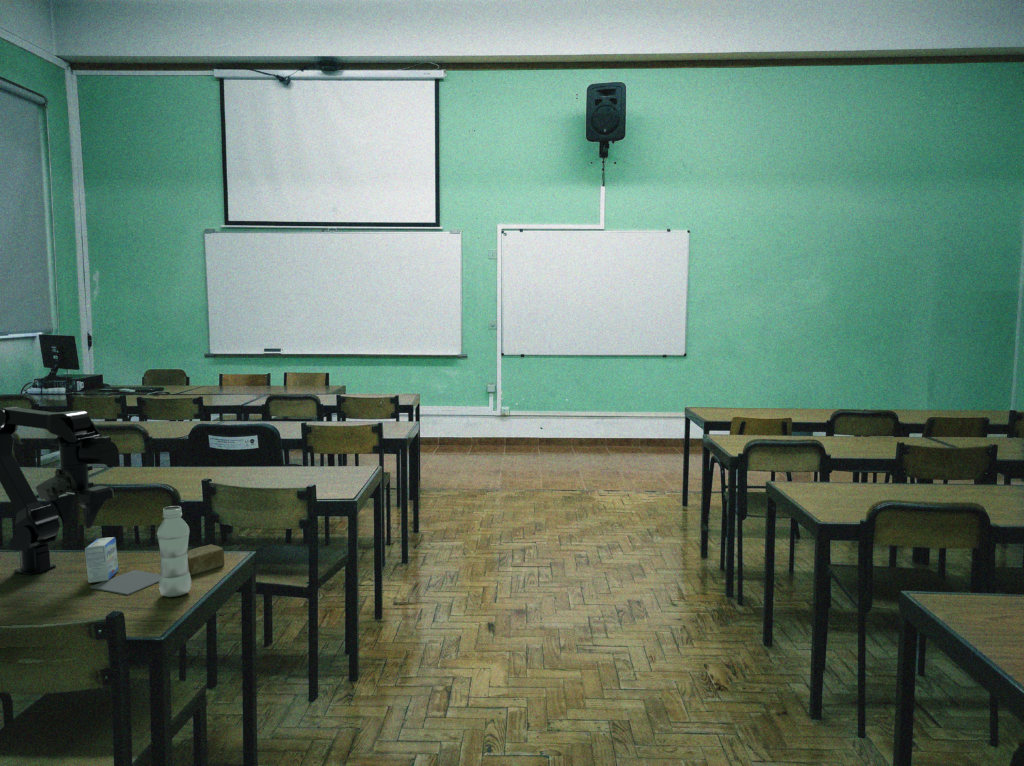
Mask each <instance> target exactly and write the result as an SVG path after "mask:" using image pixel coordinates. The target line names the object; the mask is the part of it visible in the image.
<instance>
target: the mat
mask: <svg viewBox="0 0 1024 766" xmlns="http://www.w3.org/2000/svg"><path fill="white" fill-rule="evenodd" d="M160 574H161V573H154V572H149V571H148V572H147V571H143V570H137V569H133V570H131V571H128V572H125V573H122V574H120V575H117V576H115V577H111V578H110V580H109V581H102V582H98V583H96V584H93V585H91V586H89V589H92V590H97V591H101V592H102V591H103V592H108V593H113V594H114V593H115V594H119V595H124V596H129V595H132V594H135V593H137V592H139V591H142V590H144V589H146V588H148V587H151V586H153V585H155V584H159V579H160V576H161V575H160Z"/></svg>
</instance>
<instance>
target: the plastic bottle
mask: <svg viewBox="0 0 1024 766" xmlns="http://www.w3.org/2000/svg"><path fill="white" fill-rule="evenodd" d="M182 516H183V512H182V507H181V506H179V505H172V506H165V507H164V508H162V518H164V519H163V520H162V522H161V524H160V525H159V527H158V529H157V531H156V532H157V533H156V534H157V537H156V538H157V541H158V546H159V547H158V548H159V550H160V551H159V553H160V573H159V574H160V575H161V576H160V579H159V582H158V588H159V593H160V594H161V595H162V596H163V597H165V598H166V597H167V598H172V597H179V596H183V595H185V594H187V593H189V591H190V589H191V587H192V577H191V576H190V573H189V567H188V559H187V556H188V554H187V552H188V551H189V550H188V549H189V539H190V526H189V525H188V524H187V523H186V521H185V520H184V519H183V518H182Z"/></svg>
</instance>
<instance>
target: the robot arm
mask: <svg viewBox="0 0 1024 766" xmlns="http://www.w3.org/2000/svg"><path fill="white" fill-rule="evenodd" d="M19 426H20V427H28V428H35V429H42V430H46V431H48V432H49V434H52V435H54V436H57V437H56V438H55V439H54V440H53V441H51V445H53V446H54V445H55V446H59V464H60V465H59V466H60V468H59V467H58V468H56V469H55V472H54V473H55V474H54V476H53V477H50V478H48V479H46V480H44V481H43V482H41V483H40V484H38V485H37V486H35V490H36V492H37V496H38V497H39V499H40V500H42V501H44V500H45V501H48V502H50V503H51V504H53V505H51V504H48V505H43V504H42V503H41V502H40V501H39V500H38V498H37V496H36V494H35V492H34V491H33V488H32V487H31V485H30V483H29V481H28V480H27V478H26V476H25V475H24V473H23V471H22V468H21V467H20V465H19V463H18V461H17V459H16V458H15V456H14V454H13V450H14V449H13V448H14V444H15V441H14V439H13V435H14V434H15V433H16V432H18V429H19ZM119 452H120V451H119V448H118V445H116V443H115V442H113V441H112V437H111V436H107V435H106V436H102V434H101V431H100V430H99V429H98V428H97V426H96V424H95V423H94V422H93V420H92V419H91V417H90V415H89V414H88V411H85V410H71V411H62V412H61V411H60V412H59V411H58V412H54V411H45V410H39V409H38V410H37V409H31V408H24V407H23V408H22V407H18V406H10V407H9V406H8V407H1V408H0V484H1V486H2V488H3V490H4V491H5V494H6V495H7V497H8V499H9V501H10V502H11V504H12V506H13V509H14V511H15V512H16V515H15V522H14V527H15V529H16V531H17V532H16V533H15V534H14V535H13V536H12V537H11V538H10V540H9V541H8V545H9V547H10V550H11V551H19V566H20V567H19V568H16V569H14V570H13V572H14V573H18V574H24V575H29V576H33V575H36V574H38V573H42V572H44V571H47V570H48V571H49V570H51V569H53V568H56V567H57V564H54V563H51V552H50V545H49V544H50V543H54V542H56V541H57V537H58V534H59V530H60V527H61V523H60V520H61V522H62V524H63V526H67V525H69V524H70V520H71V517H72V511H73V506H74V500H75V496H77V497H79V500H80V502H77V503H76V504H78V506H80V507H81V508H82V512H83V521H84V525H85V526H84V527H85V528H86V529H90V528H92V527H93V524H94V523H95V520H96V517H97V516H98V513H99V512H100V510H101V508H102V506H103V505H104V503H105V502H107V501H108V500H111V499H113V498H114V489H113V488H112V487H110V486H104V485H97V486H94V482H93V481H90V475H89V472H90V471H94V469H93V468H94V467H93V466H94V465H97V466H112V465H113V464H115V462H117V459H118V457H119ZM54 507H55V508H54ZM55 509H56V511H57V512H56V511H55ZM57 513H58V514H57Z"/></svg>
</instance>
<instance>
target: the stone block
mask: <svg viewBox="0 0 1024 766" xmlns="http://www.w3.org/2000/svg"><path fill="white" fill-rule="evenodd" d="M187 554H188V556H187V559H188V567H189V573H190V576H194V575H197V574H201V573H204V572H206V571H210V570H213V569H216V568H219V567H223V566H224V565H225V551H224V549H223V547H221V546H218V545H214V544H212V543H211V544H207V545H204V546H199V547H196V548H193V549H190V550H188V552H187Z"/></svg>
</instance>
